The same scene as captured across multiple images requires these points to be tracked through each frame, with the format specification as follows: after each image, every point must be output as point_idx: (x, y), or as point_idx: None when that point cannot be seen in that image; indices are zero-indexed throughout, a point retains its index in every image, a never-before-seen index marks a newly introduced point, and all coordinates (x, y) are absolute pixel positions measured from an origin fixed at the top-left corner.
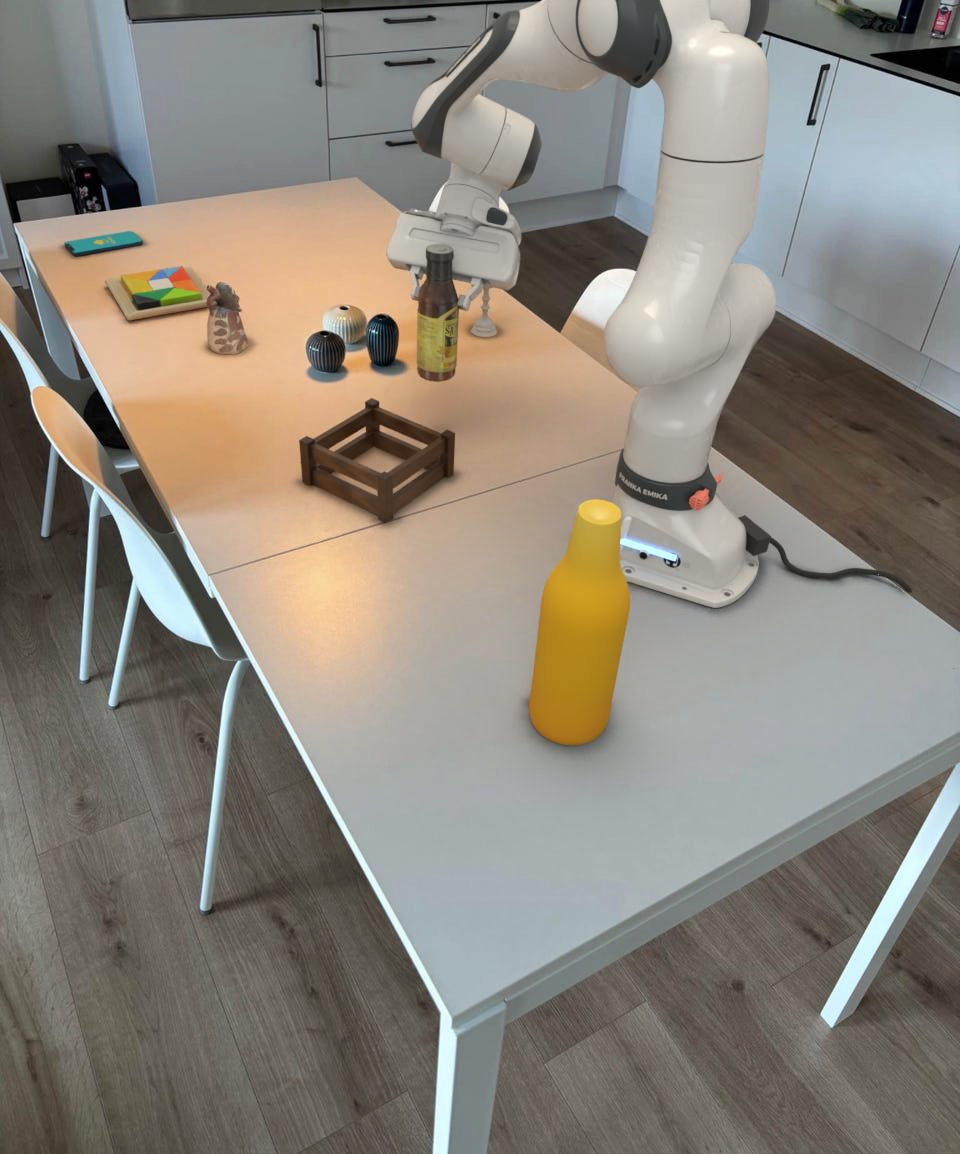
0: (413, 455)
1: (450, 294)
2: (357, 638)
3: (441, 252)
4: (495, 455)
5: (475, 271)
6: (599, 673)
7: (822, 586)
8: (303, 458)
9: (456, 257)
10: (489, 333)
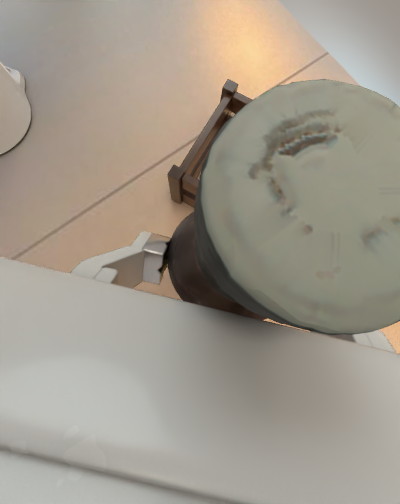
0: (209, 132)
1: (192, 217)
2: (212, 6)
3: (297, 93)
4: (131, 241)
5: (74, 286)
6: None
7: None
8: None
9: (189, 371)
10: None
